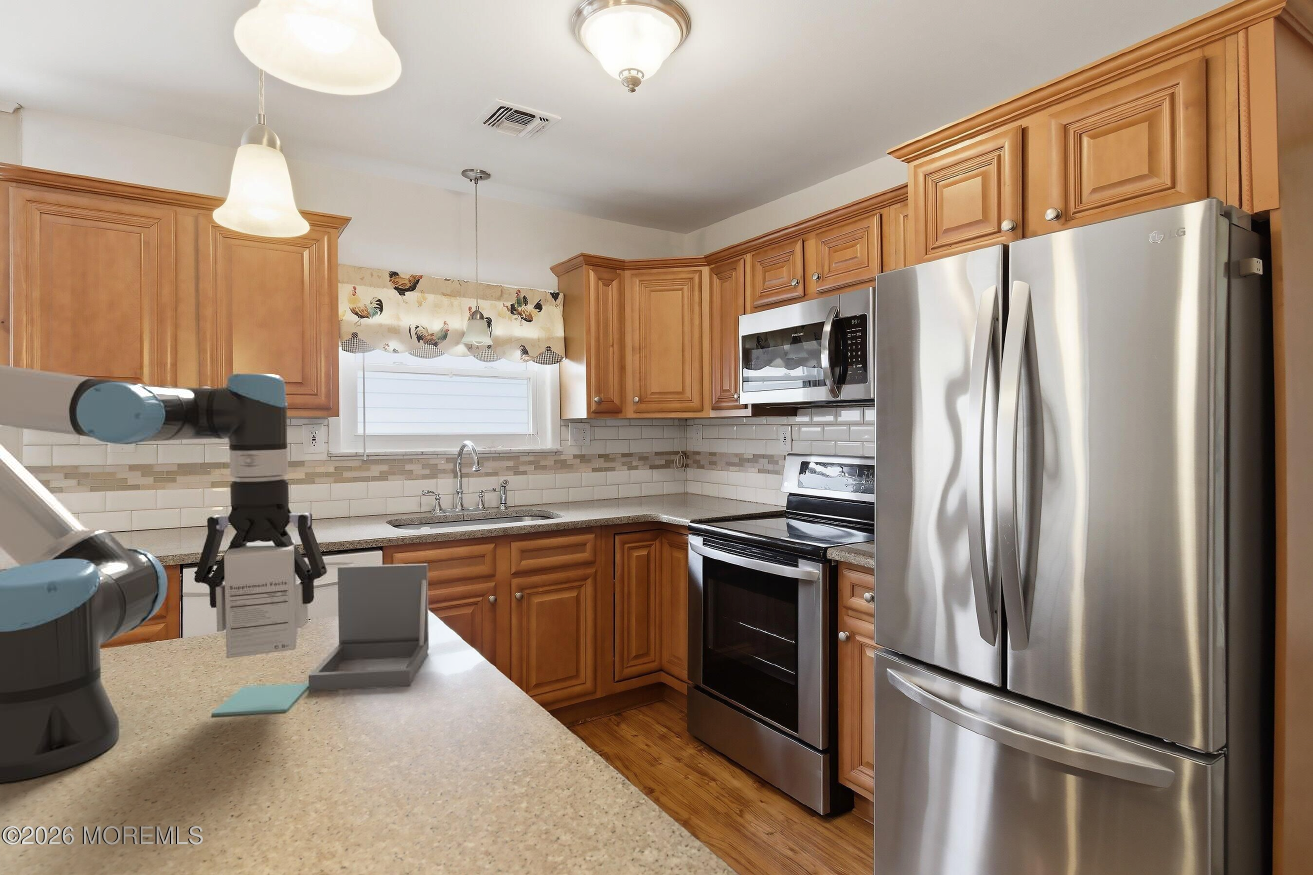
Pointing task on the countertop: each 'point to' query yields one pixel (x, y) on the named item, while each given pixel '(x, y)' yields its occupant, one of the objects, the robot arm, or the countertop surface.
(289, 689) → the mat
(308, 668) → the countertop surface
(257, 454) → the robot arm
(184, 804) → the countertop surface
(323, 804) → the countertop surface
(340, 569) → the case
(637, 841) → the countertop surface
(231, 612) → the supplement box
